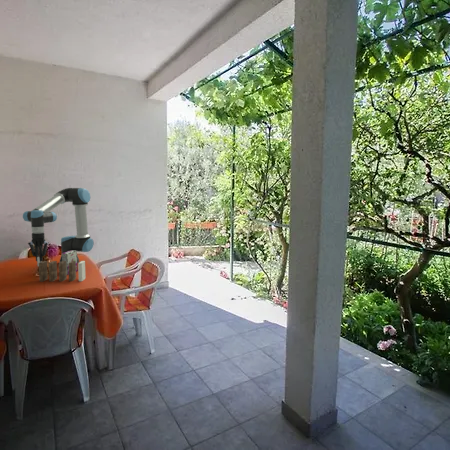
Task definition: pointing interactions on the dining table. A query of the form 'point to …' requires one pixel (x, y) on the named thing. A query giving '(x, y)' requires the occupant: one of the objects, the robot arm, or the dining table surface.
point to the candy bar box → (69, 259)
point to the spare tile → (81, 270)
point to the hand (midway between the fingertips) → (39, 265)
